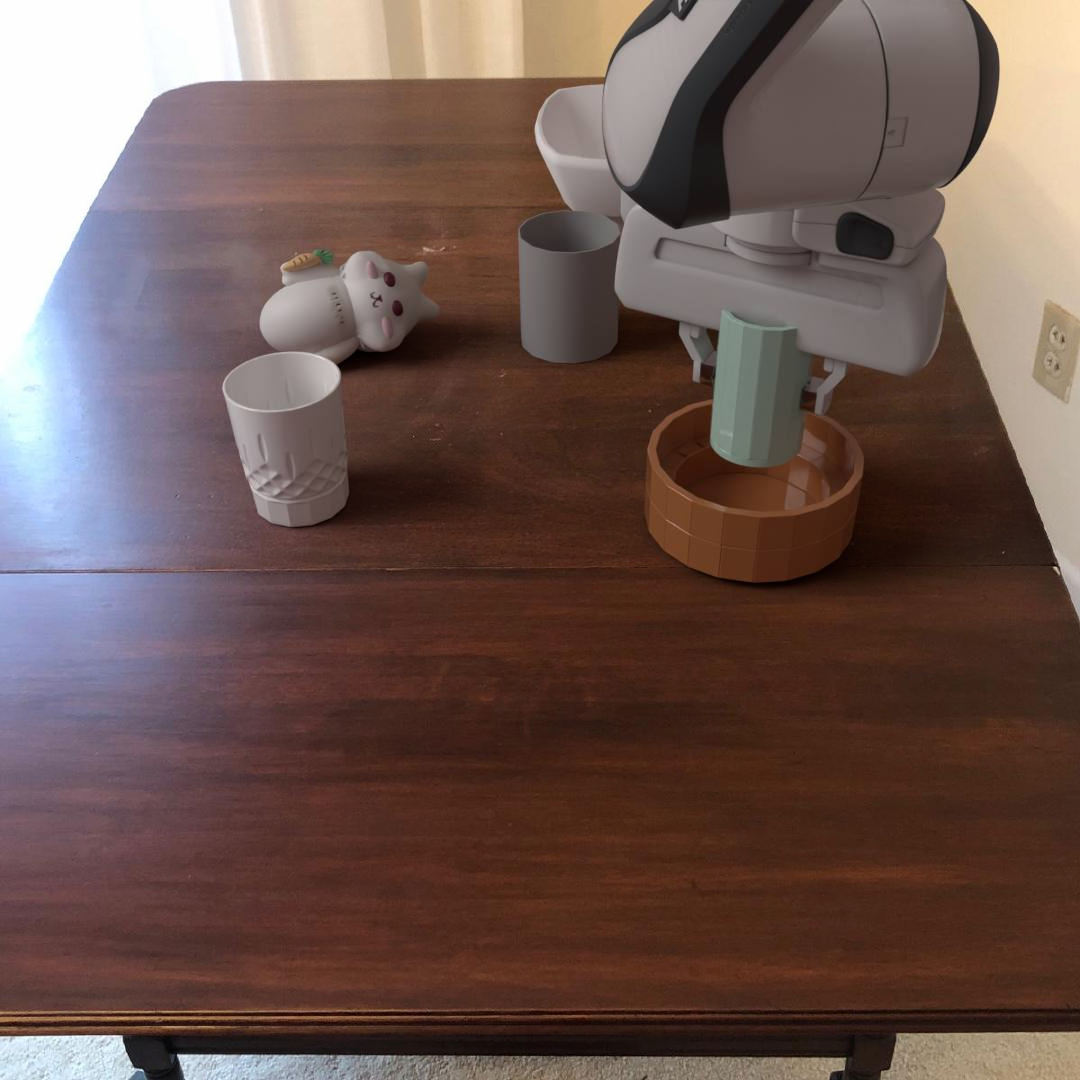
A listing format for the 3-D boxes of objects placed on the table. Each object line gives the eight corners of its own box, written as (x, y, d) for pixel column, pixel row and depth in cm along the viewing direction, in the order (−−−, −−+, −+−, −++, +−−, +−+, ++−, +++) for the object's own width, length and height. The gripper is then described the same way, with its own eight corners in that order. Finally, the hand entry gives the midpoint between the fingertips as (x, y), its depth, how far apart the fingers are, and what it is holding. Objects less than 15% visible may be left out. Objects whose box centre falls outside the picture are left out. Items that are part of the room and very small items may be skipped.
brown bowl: (893, 529, 85) (908, 457, 81) (754, 619, 77) (763, 545, 74) (740, 443, 93) (747, 375, 89) (603, 517, 86) (604, 446, 82)
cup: (635, 347, 105) (639, 238, 99) (552, 373, 102) (551, 262, 96) (583, 308, 111) (584, 202, 105) (504, 331, 108) (500, 223, 101)
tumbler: (819, 444, 81) (840, 308, 75) (758, 479, 78) (775, 340, 72) (751, 407, 84) (766, 275, 78) (691, 439, 81) (700, 304, 75)
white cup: (227, 522, 86) (200, 401, 80) (278, 461, 92) (256, 344, 86) (329, 541, 84) (309, 419, 78) (374, 478, 90) (359, 359, 84)
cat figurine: (239, 264, 97) (421, 220, 99) (246, 274, 105) (415, 233, 107) (272, 381, 99) (451, 335, 101) (277, 382, 107) (443, 340, 109)
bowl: (770, 283, 114) (784, 162, 107) (533, 284, 114) (531, 164, 107) (744, 190, 131) (754, 80, 124) (538, 191, 132) (536, 82, 125)
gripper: (598, 175, 72) (595, 377, 81) (943, 245, 64) (899, 462, 73) (645, 140, 77) (638, 336, 85) (974, 202, 68) (929, 411, 77)
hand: (761, 395), depth 79 cm, fingers closed on tumbler, 6 cm apart
